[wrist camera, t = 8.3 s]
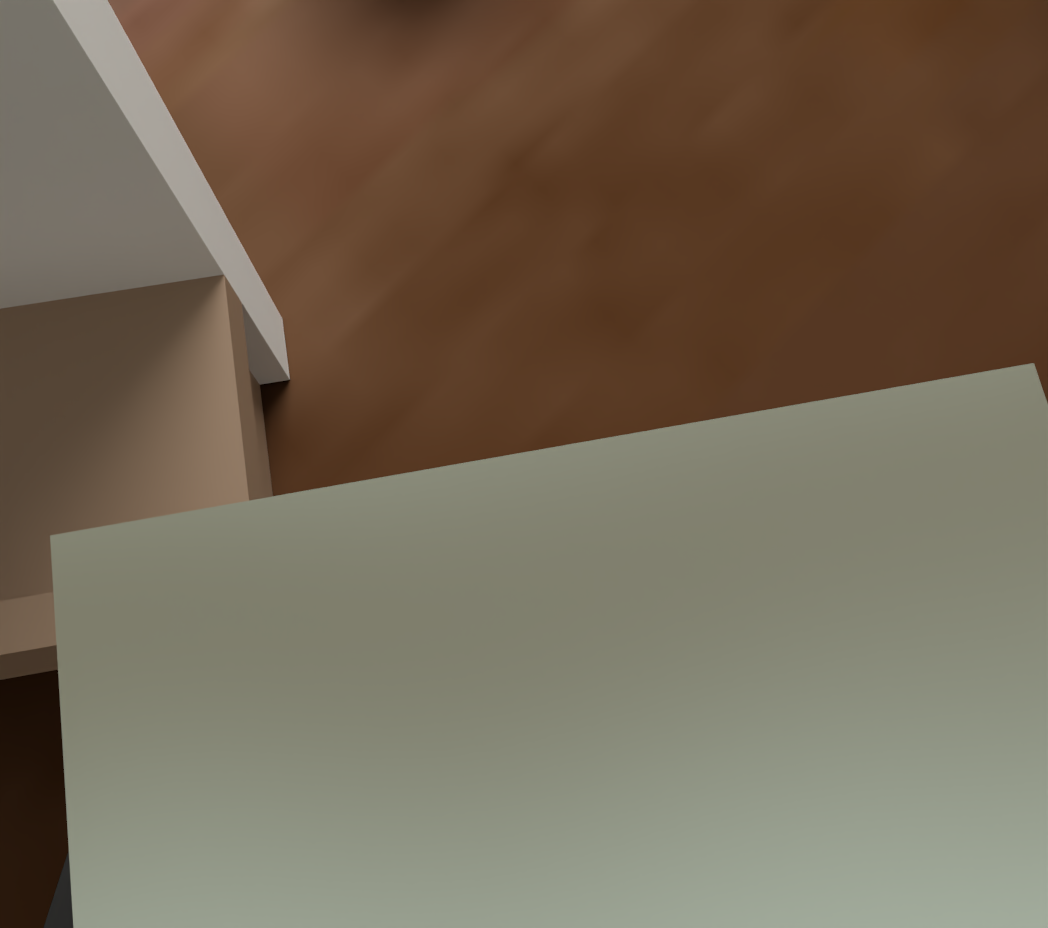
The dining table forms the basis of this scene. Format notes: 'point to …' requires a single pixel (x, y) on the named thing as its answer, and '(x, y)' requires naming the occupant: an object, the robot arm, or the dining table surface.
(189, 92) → the dining table surface
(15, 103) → the white display stand
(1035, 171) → the dining table surface
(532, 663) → the sage cabinet
